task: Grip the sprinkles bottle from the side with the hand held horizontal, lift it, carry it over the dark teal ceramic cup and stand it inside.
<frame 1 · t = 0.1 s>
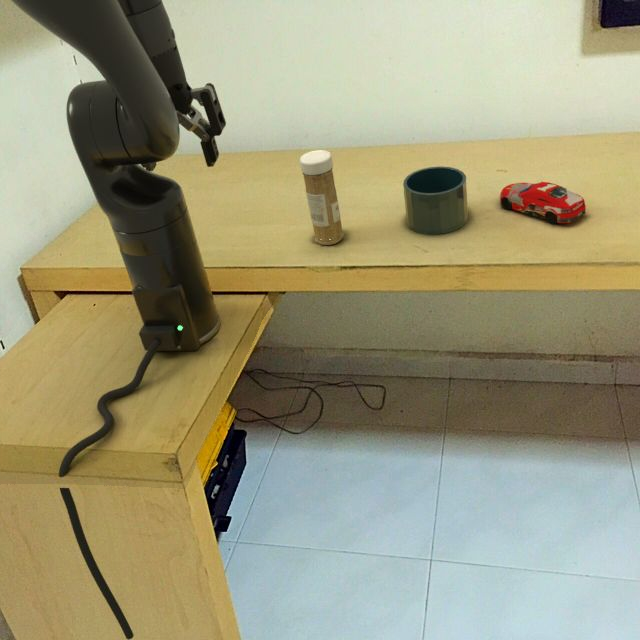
hand: (182, 166, 99), 17 cm above the table, tool pointing down, fingers open, 8 cm apart
race car: (540, 211, 110), on the table
cup: (437, 219, 112), on the table
sprinkles bottle: (329, 239, 113), on the table
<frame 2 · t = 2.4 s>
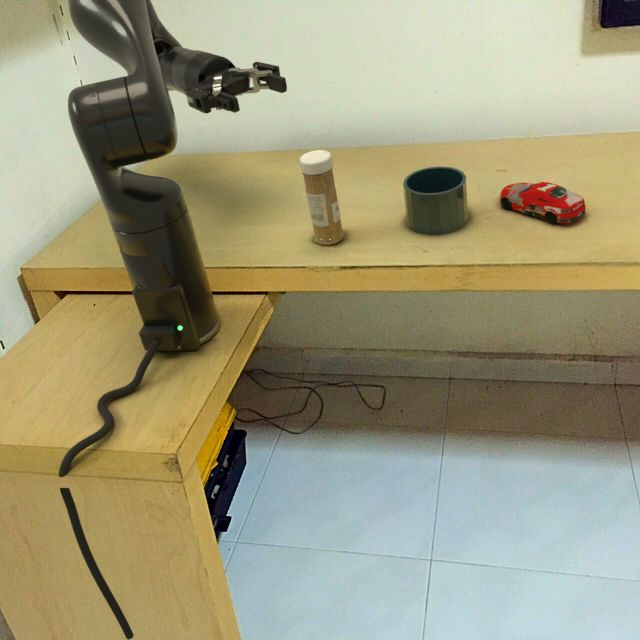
hand: (261, 95, 109), 20 cm above the table, tool horizontal, fingers open, 8 cm apart
nothing on the table moved.
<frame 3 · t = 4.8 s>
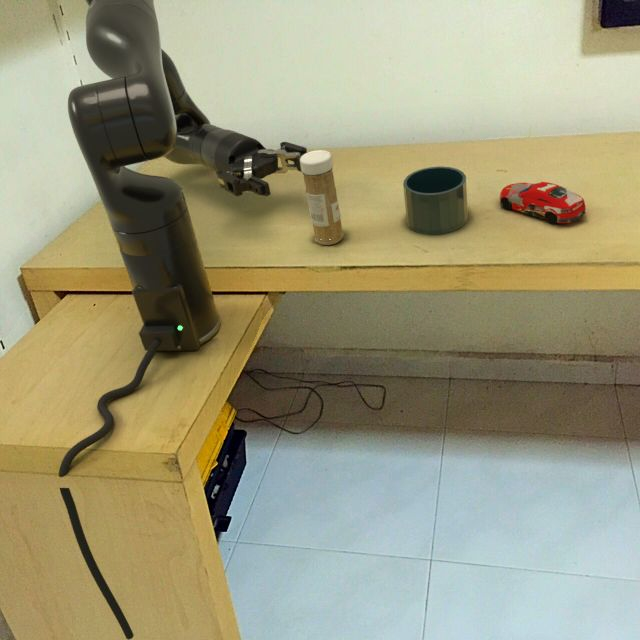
hand: (290, 179, 113), 8 cm above the table, tool horizontal, fingers open, 8 cm apart
nothing on the table moved.
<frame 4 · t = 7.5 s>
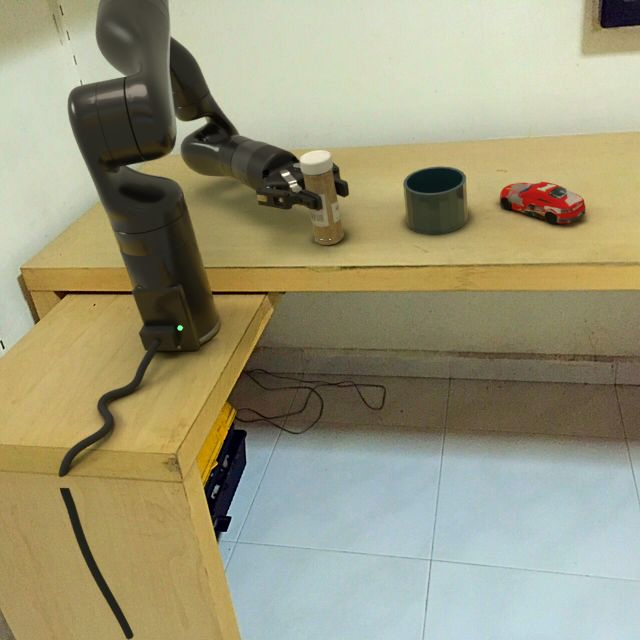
hand: (333, 196, 106), 8 cm above the table, tool horizontal, fingers closed on sprinkles bottle, 4 cm apart
sprinkles bottle: (329, 239, 113), on the table, touching gripper
everything else where it was.
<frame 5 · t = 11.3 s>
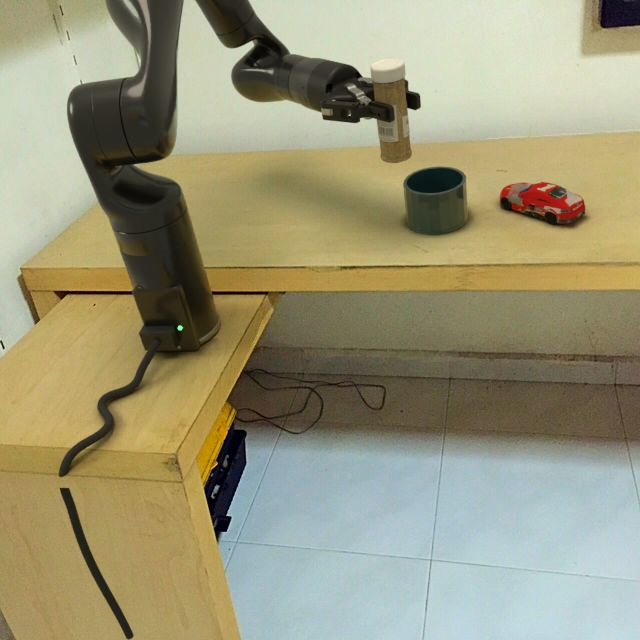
hand: (405, 108, 100), 19 cm above the table, tool horizontal, fingers closed on sprinkles bottle, 4 cm apart
sprinkles bottle: (396, 158, 107), point 11 cm above the table, touching gripper
everything else where it was.
when the fingers open (8 cm above the table, at t = 15.3 s): sprinkles bottle stays where it is, resting on cup.
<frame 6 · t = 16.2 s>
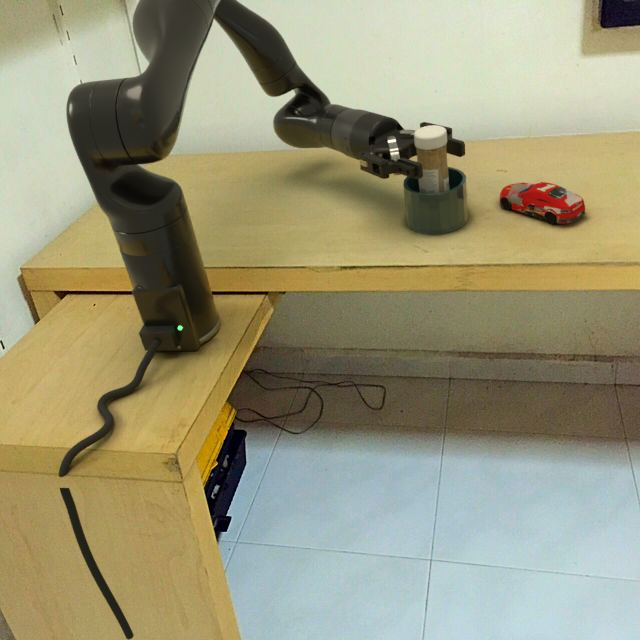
hand: (442, 160, 105), 10 cm above the table, tool horizontal, fingers open, 8 cm apart
cup: (437, 219, 112), on the table, touching sprinkles bottle
sprinkles bottle: (436, 216, 112), resting on cup
everything else where it was.
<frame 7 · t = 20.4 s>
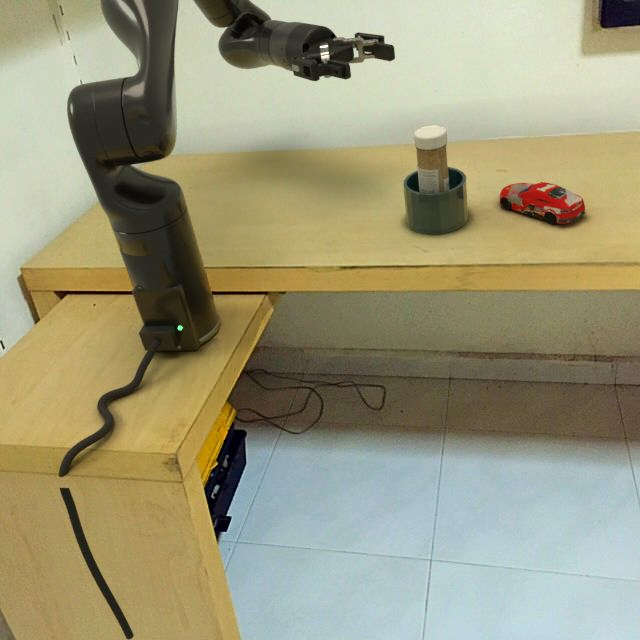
hand: (371, 62, 107), 22 cm above the table, tool horizontal, fingers open, 8 cm apart
nothing on the table moved.
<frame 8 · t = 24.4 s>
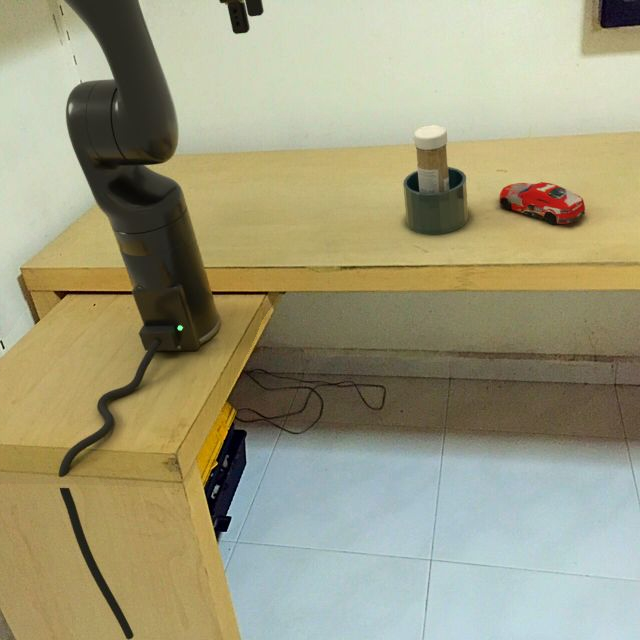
hand: (249, 23, 103), 30 cm above the table, tool pointing down, fingers open, 8 cm apart
nothing on the table moved.
at the end: sprinkles bottle 0.1 cm off-centre in the cup, point 0.4 cm above the cup's base; sprinkles bottle tilted 0°; the gripper is holding nothing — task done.
